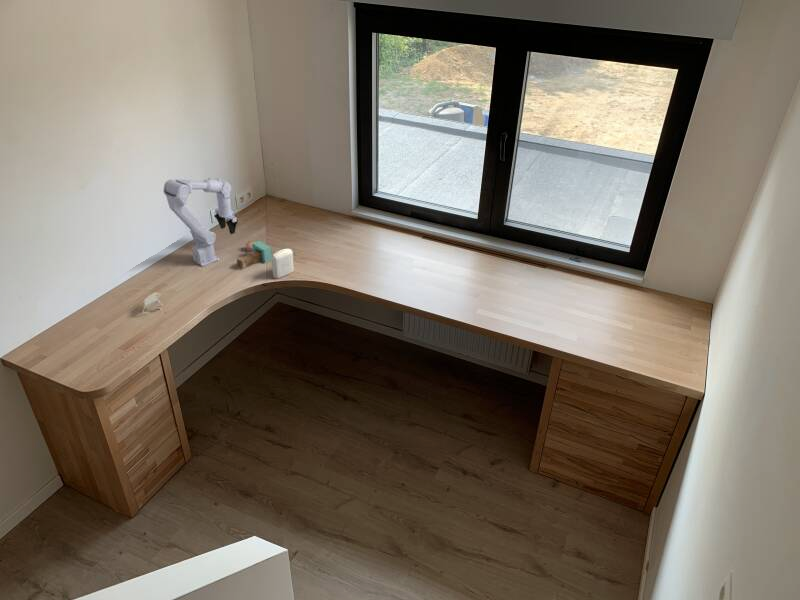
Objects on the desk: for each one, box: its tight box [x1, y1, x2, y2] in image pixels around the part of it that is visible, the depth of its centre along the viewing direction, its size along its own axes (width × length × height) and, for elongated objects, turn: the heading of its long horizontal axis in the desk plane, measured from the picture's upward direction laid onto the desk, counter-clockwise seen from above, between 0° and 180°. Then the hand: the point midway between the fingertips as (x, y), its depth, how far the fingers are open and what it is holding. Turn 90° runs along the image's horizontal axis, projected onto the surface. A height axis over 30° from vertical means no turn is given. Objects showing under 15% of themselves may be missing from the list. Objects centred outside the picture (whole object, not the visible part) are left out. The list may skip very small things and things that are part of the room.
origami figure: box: [141, 291, 164, 316], centre depth 257 cm, size 12×8×5 cm
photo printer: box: [271, 248, 295, 279], centre depth 280 cm, size 10×4×12 cm, turn 135°
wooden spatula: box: [236, 250, 273, 270], centre depth 290 cm, size 18×3×4 cm, turn 138°
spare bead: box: [245, 241, 255, 253], centre depth 299 cm, size 4×4×4 cm
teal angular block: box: [252, 240, 273, 264], centre depth 292 cm, size 4×9×7 cm, turn 48°
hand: (227, 230), depth 296 cm, fingers open, 7 cm apart
